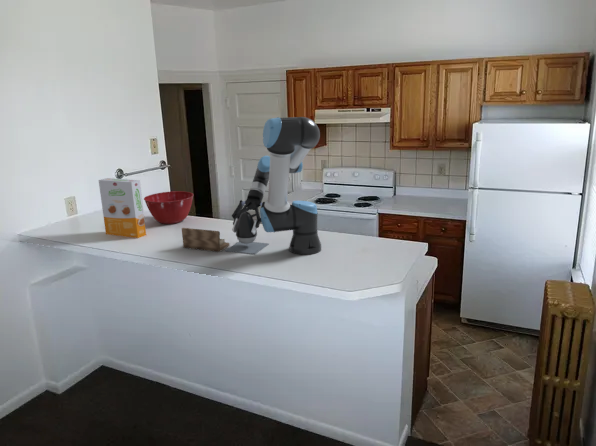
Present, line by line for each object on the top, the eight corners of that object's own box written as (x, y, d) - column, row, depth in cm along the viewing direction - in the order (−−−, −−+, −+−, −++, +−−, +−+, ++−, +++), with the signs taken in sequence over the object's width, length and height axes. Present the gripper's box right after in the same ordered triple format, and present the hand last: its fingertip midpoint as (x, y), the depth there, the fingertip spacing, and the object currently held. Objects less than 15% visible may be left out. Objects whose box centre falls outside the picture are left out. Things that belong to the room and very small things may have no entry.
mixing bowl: (166, 230, 258) (164, 203, 254) (136, 223, 275) (133, 197, 271) (205, 219, 280) (203, 194, 276) (175, 213, 297) (172, 189, 293)
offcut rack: (229, 245, 229) (228, 226, 227) (218, 251, 220) (217, 231, 218) (194, 241, 237) (193, 223, 234) (183, 247, 228) (181, 228, 225)
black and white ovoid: (254, 245, 220) (253, 214, 216) (233, 244, 222) (231, 214, 218) (260, 239, 229) (259, 209, 225) (240, 238, 231) (238, 208, 227)
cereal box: (146, 235, 250) (139, 180, 242) (138, 238, 245) (131, 182, 237) (114, 231, 259) (107, 178, 251) (105, 234, 254) (98, 180, 246)
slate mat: (269, 244, 230) (269, 243, 230) (254, 254, 216) (254, 253, 216) (240, 241, 236) (240, 240, 236) (224, 251, 222) (224, 250, 221)
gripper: (279, 198, 230) (267, 238, 220) (239, 195, 238) (226, 233, 228) (274, 190, 224) (261, 230, 214) (233, 187, 232) (219, 226, 222)
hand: (243, 232), depth 221 cm, fingers closed on black and white ovoid, 10 cm apart
